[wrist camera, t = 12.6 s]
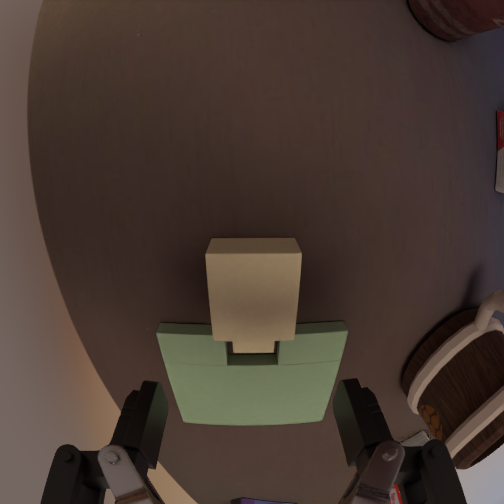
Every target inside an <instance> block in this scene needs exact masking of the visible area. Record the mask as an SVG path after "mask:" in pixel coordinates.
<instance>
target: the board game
mask: <svg viewBox="0 0 504 504" xmlns="http://www.w3.org/2000/svg"><path fill="white" fill-rule="evenodd" d="M389 496H390V497H391V499H390V502H389V504H402V500H401V496H400V492H399V489H398V486H397V484H394V485H393V487H392V489H391V491H390V494H389Z"/></svg>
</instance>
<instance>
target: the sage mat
mask: <svg viewBox="0 0 504 504" xmlns="http://www.w3.org/2000/svg"><path fill="white" fill-rule="evenodd" d="M156 334H157V338H158V342H159V346H160V349H161V353H162V356H163V360H164V363H165V367H166V370H167V373H168V377H169V380H170V383H171V386H172V389H173V392H174V395H175V398H176V401H177V404H178V407H179V410H180V413H181V416H182V418H183V421H184V422H188V423H200V424H216V425H276V424H292V423H304V422H314V421H322V419H323V416H324V413H325V410H326V407H327V404H328V401H329V398H330V395H331V392H332V389H333V385H334V382H335V379H336V375H337V372H338V368H339V365H340V361H341V357H342V354H343V350H344V346H345V342H346V338H347V334H348V330H347V327H346V325H345V323H344V321H338V322H323V323H304V324H296V328H295V337H294V340H286V341H278V342H277V354H264V355H228V345H227V341H214V340H213V333H212V325H204V324H176V323H160V325H159V328H158V330H157V332H156Z"/></svg>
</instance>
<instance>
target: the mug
mask: <svg viewBox="0 0 504 504" xmlns="http://www.w3.org/2000/svg"><path fill="white" fill-rule="evenodd" d="M495 310H498V311H500V312H502V313H503V314H504V291H502V290H497V291H495V292H494V293H492V294H491V295H489V296H488V297H486V298H485V299H483V301H482V303H481V305H480V307H479V308H476V309H471V310H466V311H463V312H461V313H459V314H457V315H455V316H453V317H452V318H450V319H448V320H447V321H446V322H445V323H443V324H442V325H441V326H439V327H438V328H437V329H436V330H435V331H434V332H433V333H432V334H431V335H430V336H429V337H428V338H427V339H426V340H425V341H424V342H423V343H422V344H421V346H420V347H419V348H418V350H417V351H416V353H415V354H414V355H413V357H412V358H411V360H410V362H409V365H408V367H407V369H406V371H405V373H404V375H403V382H402V389H403V391H404V393H405V395H406V396H407V398H408V399H407V402H408V404H409V407H410V409H411V410H412V411H413V412H414V413H415V414H418V415H420V416H421V417H422V418H423V420H424V421H425V423H426V424H427V426H428V427H429V429H430V431H431V432H432V434H433V435H434V437H435V438H436V439H437V440H441V441H442V442H444V443H445V444H446V446H447V448H448V451H449V453H450V456H451V458H452V461H453V464H454V466H455V467H456V469H468V468H470V467H472V466H474V465H475V464H477V463H478V462H480V461H482V460H483V459H484V458H486V457H487V456H489V455H490V454H491V453H493V452H494V451H495V450H496V449H497V448H499V447H500V446H501V445H502V444H503V443H504V329H503V326H502V325H501V323H500V321H499V320H498V319H495V318H492V317H491V316H492V314H493V312H494V311H495Z"/></svg>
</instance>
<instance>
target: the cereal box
mask: <svg viewBox="0 0 504 504" xmlns="http://www.w3.org/2000/svg"><path fill="white" fill-rule="evenodd" d="M231 504H296V503H286V502H274V501H265V500H257V499H250V498H243V497H242V498H239V499H235V500H231Z"/></svg>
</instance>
